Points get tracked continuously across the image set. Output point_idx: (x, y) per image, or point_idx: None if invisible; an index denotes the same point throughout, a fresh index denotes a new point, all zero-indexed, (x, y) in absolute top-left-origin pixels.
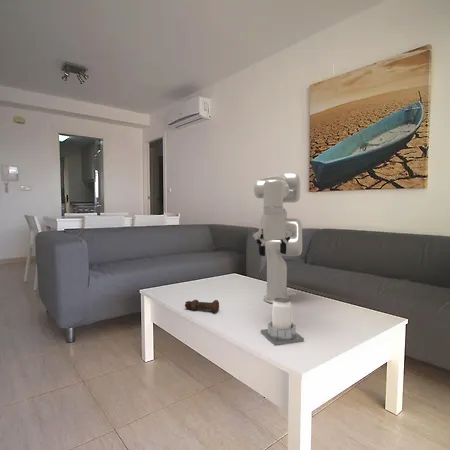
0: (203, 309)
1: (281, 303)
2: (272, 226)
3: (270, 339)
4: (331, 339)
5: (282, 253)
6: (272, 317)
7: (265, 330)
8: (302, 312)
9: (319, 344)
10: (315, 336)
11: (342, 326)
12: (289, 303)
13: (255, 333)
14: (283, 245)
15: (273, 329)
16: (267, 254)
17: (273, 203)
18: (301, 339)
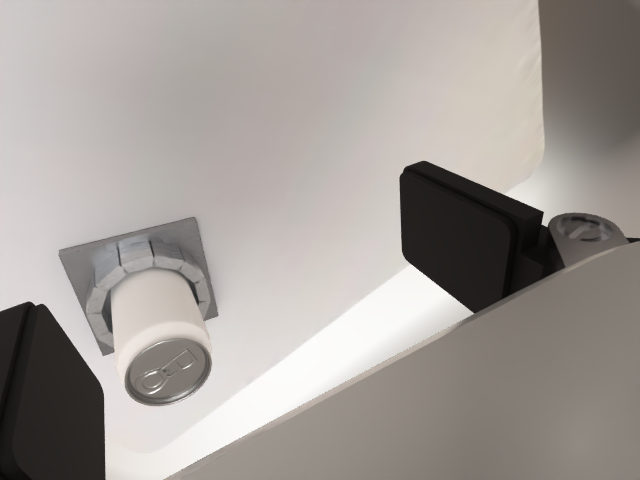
0: None
1: (156, 400)
2: None
3: (92, 329)
4: (301, 292)
5: (404, 211)
6: (112, 323)
7: (82, 261)
8: (329, 30)
9: (253, 325)
10: (266, 275)
11: (382, 202)
12: (199, 379)
13: (30, 258)
14: (486, 300)
15: (107, 343)
16: None
17: None
18: (208, 317)
